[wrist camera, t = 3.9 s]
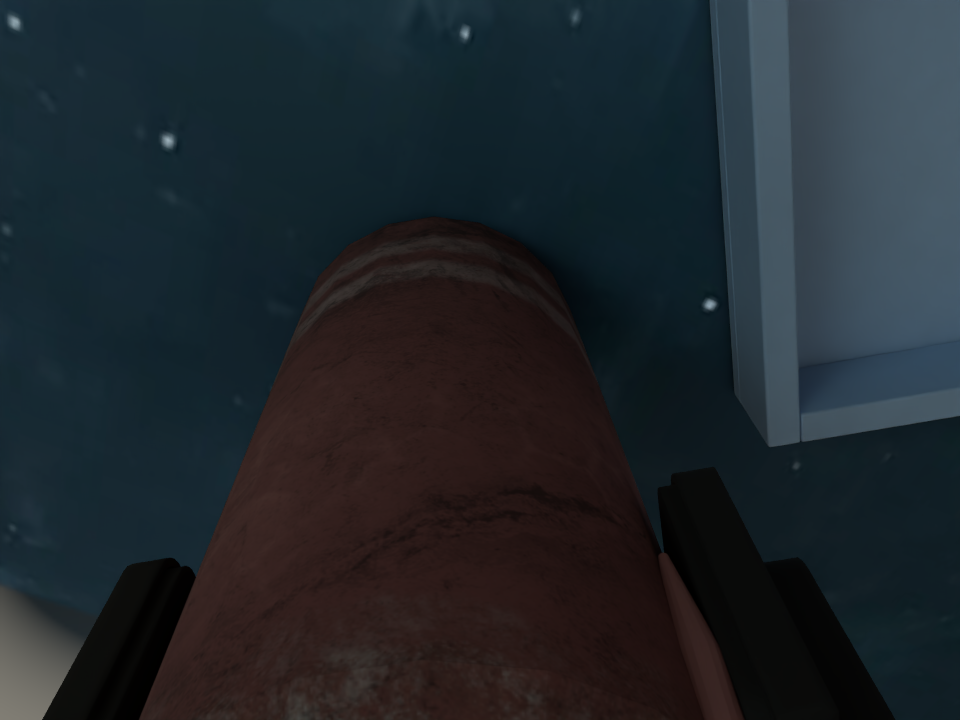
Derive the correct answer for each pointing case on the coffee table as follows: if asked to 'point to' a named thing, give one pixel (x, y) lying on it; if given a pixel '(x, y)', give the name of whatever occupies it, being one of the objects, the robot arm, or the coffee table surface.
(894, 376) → the blue tray
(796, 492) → the coffee table surface
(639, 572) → the can
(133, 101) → the coffee table surface
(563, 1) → the coffee table surface
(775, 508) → the coffee table surface
